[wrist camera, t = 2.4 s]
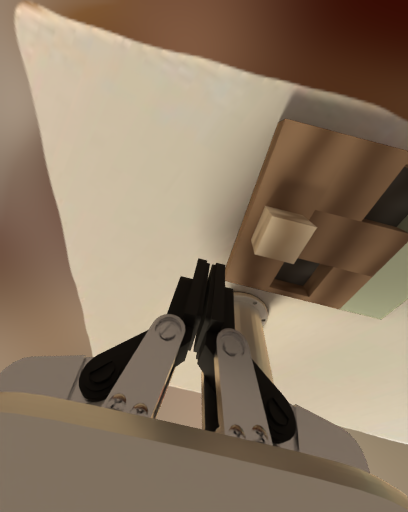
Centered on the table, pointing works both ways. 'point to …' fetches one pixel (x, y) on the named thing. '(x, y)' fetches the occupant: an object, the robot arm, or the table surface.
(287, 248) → the maple block
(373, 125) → the table surface
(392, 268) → the pad
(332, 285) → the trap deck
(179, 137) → the table surface
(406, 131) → the table surface
